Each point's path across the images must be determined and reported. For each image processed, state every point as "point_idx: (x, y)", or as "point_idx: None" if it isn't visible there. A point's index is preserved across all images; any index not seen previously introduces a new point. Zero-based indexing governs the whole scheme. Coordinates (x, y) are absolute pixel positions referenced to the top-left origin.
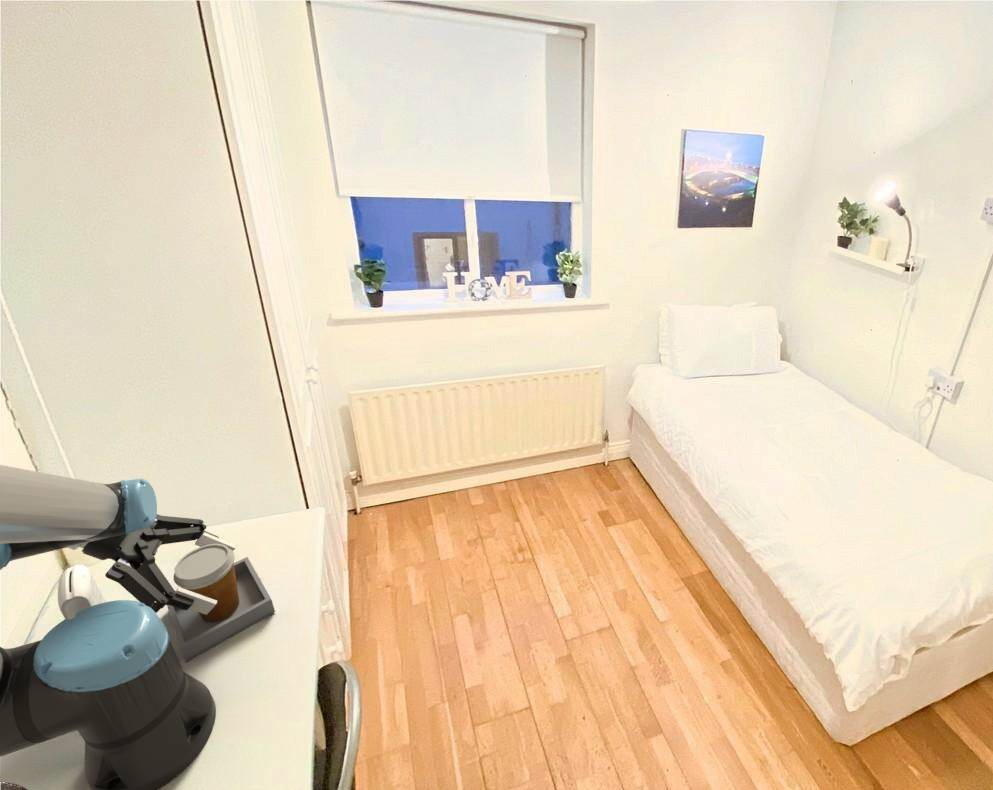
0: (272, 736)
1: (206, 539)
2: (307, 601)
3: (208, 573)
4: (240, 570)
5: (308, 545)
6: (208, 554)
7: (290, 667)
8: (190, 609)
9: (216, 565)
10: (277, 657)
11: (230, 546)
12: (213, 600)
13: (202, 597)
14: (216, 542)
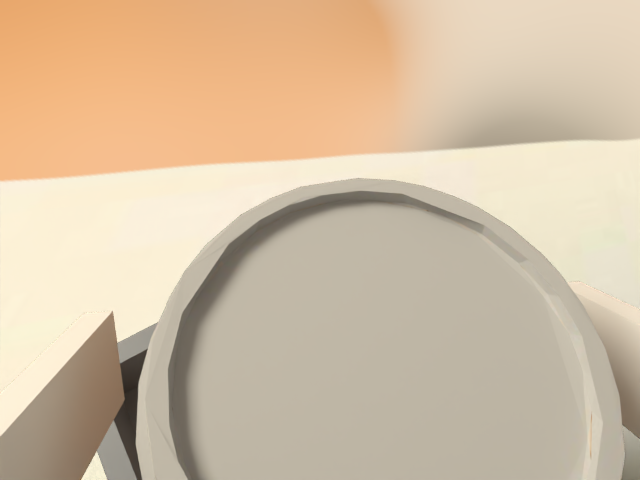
0: None
1: (9, 471)
2: (340, 166)
3: (534, 261)
4: (123, 414)
5: (52, 195)
6: (285, 353)
7: (559, 176)
8: None
9: (430, 248)
10: (534, 210)
11: (101, 326)
12: (577, 287)
13: (632, 310)
14: (56, 396)
